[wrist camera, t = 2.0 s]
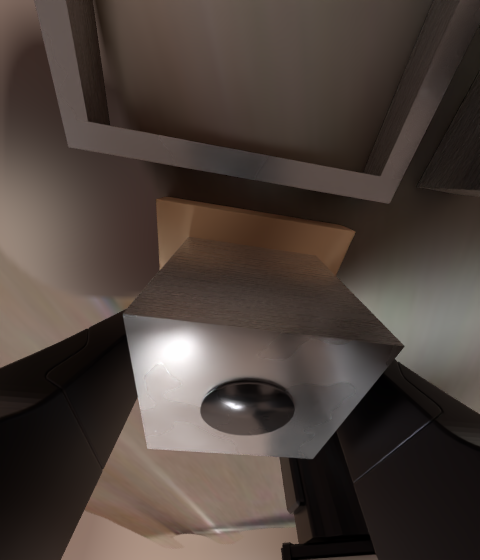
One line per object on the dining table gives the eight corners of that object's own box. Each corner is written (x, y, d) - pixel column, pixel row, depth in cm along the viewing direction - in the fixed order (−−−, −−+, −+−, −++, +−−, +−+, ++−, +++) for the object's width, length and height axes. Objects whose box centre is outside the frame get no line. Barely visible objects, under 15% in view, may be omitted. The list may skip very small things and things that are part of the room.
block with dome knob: (315, 255, 8) (408, 349, 4) (282, 344, 11) (313, 462, 6) (188, 236, 8) (119, 317, 3) (186, 333, 10) (145, 452, 6)
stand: (341, 225, 9) (355, 231, 8) (292, 345, 13) (297, 360, 11) (166, 196, 8) (155, 199, 7) (170, 332, 12) (164, 347, 11)
